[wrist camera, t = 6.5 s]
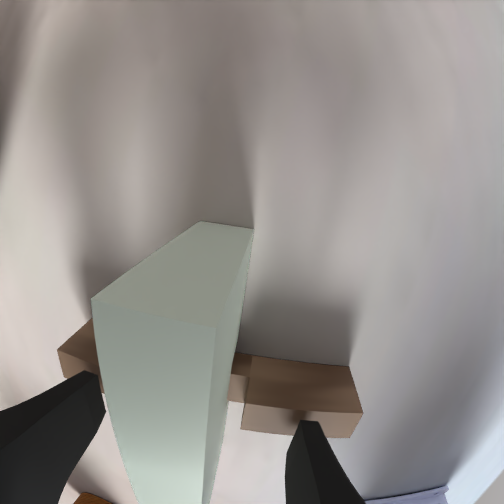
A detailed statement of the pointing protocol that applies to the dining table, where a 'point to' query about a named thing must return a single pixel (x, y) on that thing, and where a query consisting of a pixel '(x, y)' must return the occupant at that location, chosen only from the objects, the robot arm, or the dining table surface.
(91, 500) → the disposable coffee cup
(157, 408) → the sage slot plate
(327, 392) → the walnut slot board
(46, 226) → the dining table surface
